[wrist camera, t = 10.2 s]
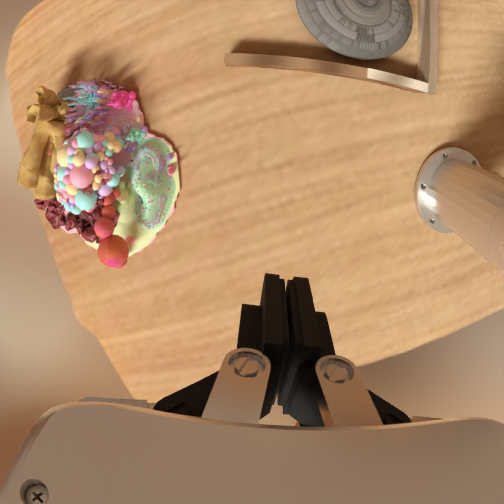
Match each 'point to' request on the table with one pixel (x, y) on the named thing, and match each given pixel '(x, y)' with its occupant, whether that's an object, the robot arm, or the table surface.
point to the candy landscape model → (99, 168)
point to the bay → (421, 85)
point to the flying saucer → (358, 25)
